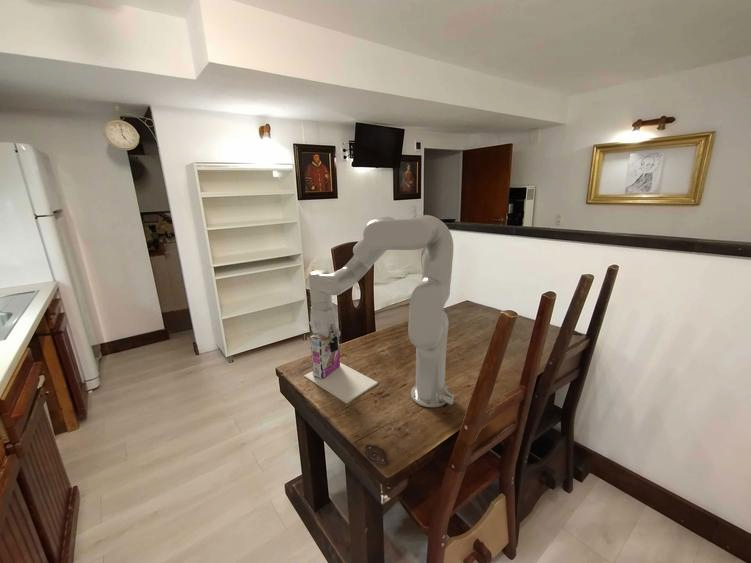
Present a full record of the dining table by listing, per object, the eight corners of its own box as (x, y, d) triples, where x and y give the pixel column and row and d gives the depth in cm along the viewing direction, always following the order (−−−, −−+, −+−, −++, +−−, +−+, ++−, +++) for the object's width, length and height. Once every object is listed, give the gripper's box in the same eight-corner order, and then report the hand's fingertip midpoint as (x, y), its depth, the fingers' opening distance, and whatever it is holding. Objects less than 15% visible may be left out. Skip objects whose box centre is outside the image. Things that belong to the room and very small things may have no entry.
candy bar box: (323, 380, 119) (319, 339, 114) (312, 376, 122) (309, 336, 117) (341, 365, 128) (338, 327, 124) (331, 362, 131) (328, 325, 126)
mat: (377, 383, 117) (377, 382, 117) (346, 403, 107) (346, 402, 107) (335, 361, 133) (334, 359, 133) (304, 376, 123) (304, 375, 122)
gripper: (299, 302, 120) (304, 344, 125) (328, 312, 109) (333, 358, 113) (316, 297, 126) (320, 337, 130) (345, 306, 114) (349, 350, 119)
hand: (326, 347), depth 122 cm, fingers open, 9 cm apart
